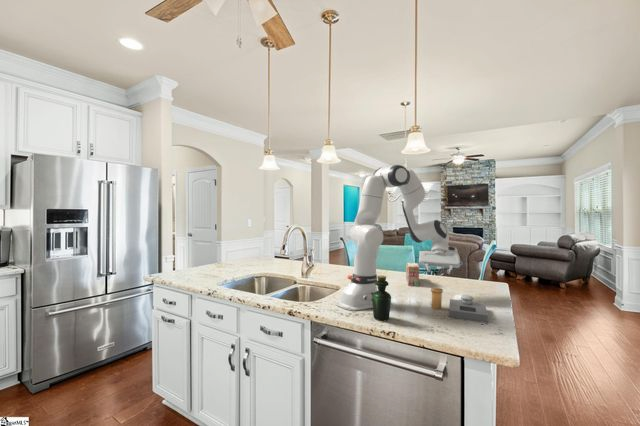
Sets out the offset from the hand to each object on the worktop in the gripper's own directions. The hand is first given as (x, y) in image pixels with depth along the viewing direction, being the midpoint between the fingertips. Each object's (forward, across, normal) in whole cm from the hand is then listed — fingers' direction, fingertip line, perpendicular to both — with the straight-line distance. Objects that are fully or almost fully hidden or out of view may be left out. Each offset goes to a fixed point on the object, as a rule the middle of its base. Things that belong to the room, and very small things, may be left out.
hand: (438, 272), depth 156 cm
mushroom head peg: (+19, 0, +2) cm, 19 cm away
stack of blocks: (-14, -17, +36) cm, 42 cm away
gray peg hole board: (+20, +13, +1) cm, 24 cm away
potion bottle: (+37, -21, -16) cm, 45 cm away
